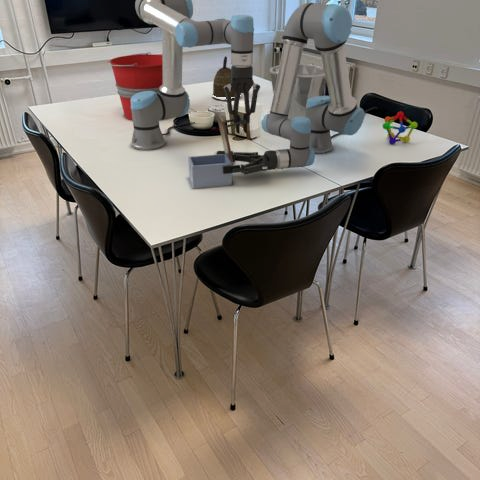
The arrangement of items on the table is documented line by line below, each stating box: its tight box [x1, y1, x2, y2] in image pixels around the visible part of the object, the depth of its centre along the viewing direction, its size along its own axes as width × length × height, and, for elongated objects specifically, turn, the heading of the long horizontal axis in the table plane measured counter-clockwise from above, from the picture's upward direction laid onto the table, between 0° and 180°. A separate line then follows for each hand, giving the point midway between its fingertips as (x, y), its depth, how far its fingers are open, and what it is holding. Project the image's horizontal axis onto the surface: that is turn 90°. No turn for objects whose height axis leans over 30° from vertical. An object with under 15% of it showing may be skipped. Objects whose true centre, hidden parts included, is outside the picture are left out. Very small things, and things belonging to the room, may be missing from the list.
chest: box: [188, 154, 233, 189], centre depth 170 cm, size 15×10×9 cm, turn 104°
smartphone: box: [216, 150, 234, 164], centre depth 192 cm, size 7×1×15 cm
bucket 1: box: [106, 51, 163, 121], centre depth 240 cm, size 35×35×30 cm
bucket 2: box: [269, 63, 327, 120], centre depth 226 cm, size 30×30×28 cm
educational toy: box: [382, 110, 418, 145], centre depth 207 cm, size 16×13×15 cm
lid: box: [215, 112, 246, 163], centre depth 165 cm, size 16×10×9 cm
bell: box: [212, 56, 242, 97], centre depth 278 cm, size 19×26×20 cm
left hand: (241, 132), depth 165 cm, fingers closed on lid, 2 cm apart
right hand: (220, 164), depth 170 cm, fingers closed on chest, 10 cm apart
